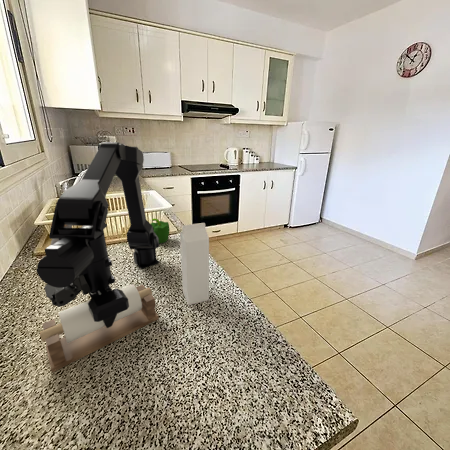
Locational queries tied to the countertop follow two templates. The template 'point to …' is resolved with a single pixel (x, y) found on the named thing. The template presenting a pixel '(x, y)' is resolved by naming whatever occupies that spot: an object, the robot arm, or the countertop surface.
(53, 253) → the robot arm
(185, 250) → the milk
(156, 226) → the bell pepper
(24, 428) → the countertop surface
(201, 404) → the countertop surface
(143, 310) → the bracket
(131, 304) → the kitchen roll
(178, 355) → the countertop surface
